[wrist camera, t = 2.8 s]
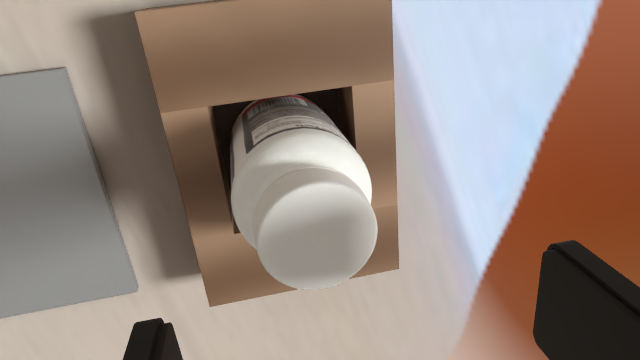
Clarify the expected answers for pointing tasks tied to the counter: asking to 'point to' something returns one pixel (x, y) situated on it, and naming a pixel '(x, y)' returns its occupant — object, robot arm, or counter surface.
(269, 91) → the pocket block
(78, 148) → the rubber mat
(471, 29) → the counter surface
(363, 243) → the pill bottle
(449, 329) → the counter surface
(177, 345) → the robot arm
